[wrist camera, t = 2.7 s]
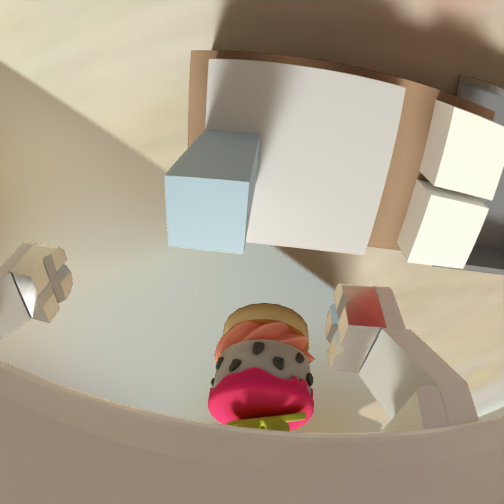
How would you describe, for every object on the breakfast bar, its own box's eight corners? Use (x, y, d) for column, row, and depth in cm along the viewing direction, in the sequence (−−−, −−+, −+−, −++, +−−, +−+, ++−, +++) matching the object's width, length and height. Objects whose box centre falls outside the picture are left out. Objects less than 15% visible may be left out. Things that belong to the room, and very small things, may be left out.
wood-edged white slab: (205, 191, 28) (188, 226, 23) (211, 51, 21) (190, 50, 16) (422, 219, 27) (447, 256, 22) (455, 96, 20) (495, 111, 15)
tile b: (396, 241, 22) (406, 262, 20) (416, 178, 19) (431, 194, 17) (450, 249, 22) (463, 268, 20) (472, 192, 19) (489, 208, 17)
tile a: (419, 170, 19) (433, 185, 17) (435, 99, 16) (454, 106, 14) (475, 185, 19) (492, 200, 17) (493, 120, 16) (513, 131, 14)
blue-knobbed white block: (209, 222, 22) (175, 316, 15) (215, 58, 16) (164, 62, 9) (358, 239, 22) (389, 336, 15) (394, 84, 16) (473, 113, 8)
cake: (320, 350, 38) (326, 463, 26) (241, 365, 41) (228, 470, 29) (297, 290, 33) (300, 425, 21) (205, 312, 36) (176, 433, 24)
